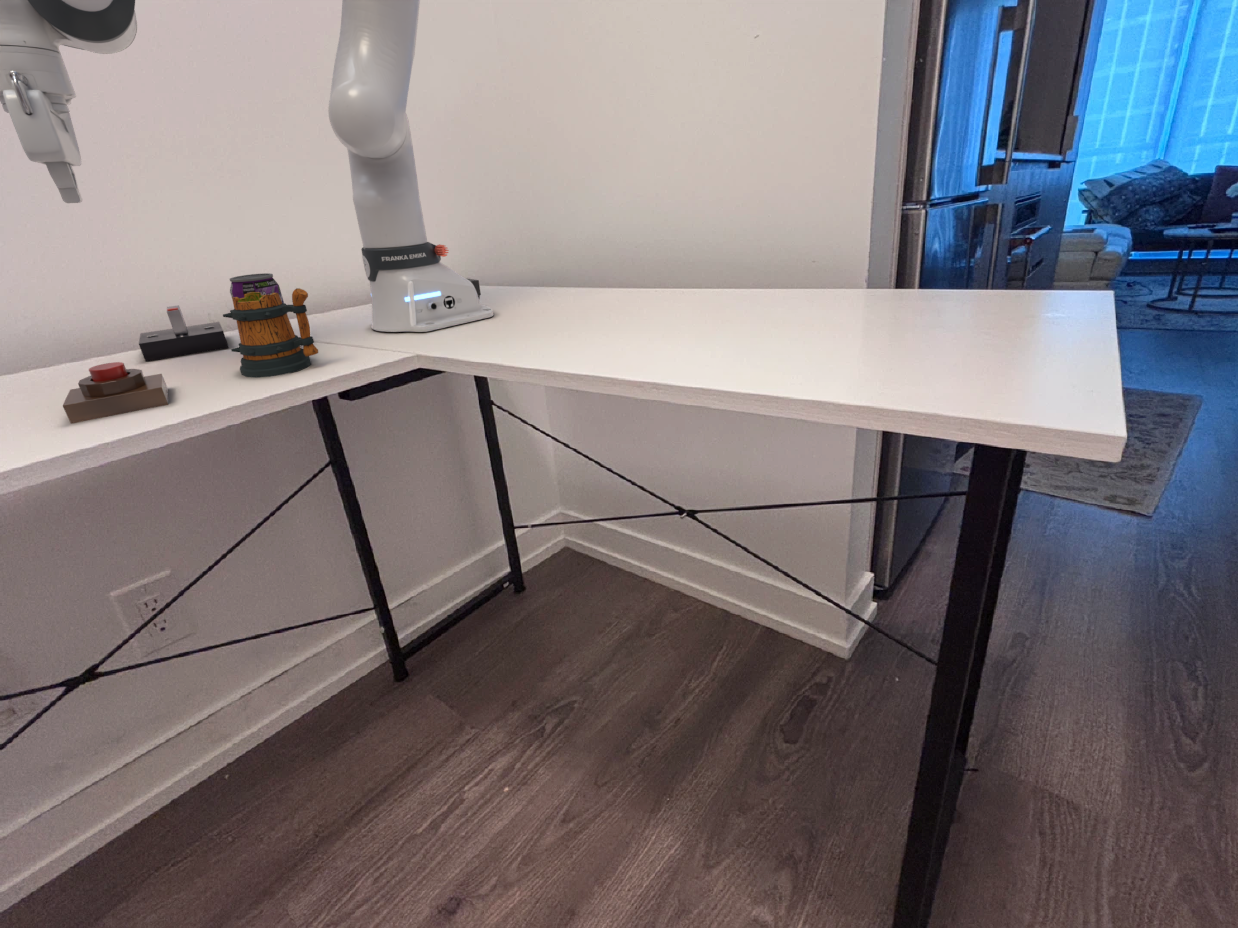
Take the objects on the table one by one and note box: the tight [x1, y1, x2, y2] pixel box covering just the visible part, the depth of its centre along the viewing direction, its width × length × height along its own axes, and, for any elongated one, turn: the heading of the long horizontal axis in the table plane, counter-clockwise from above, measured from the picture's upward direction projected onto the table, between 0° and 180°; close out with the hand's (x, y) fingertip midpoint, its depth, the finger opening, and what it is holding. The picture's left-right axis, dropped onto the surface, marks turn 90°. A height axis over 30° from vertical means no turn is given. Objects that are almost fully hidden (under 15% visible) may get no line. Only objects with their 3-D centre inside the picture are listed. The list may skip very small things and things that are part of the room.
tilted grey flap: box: [166, 305, 188, 335], centre depth 106 cm, size 6×2×4 cm, turn 33°
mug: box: [222, 287, 319, 379], centre depth 91 cm, size 13×10×12 cm
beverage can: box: [229, 272, 289, 317], centre depth 101 cm, size 7×7×12 cm
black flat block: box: [138, 321, 230, 363], centre depth 107 cm, size 12×10×3 cm
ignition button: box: [88, 361, 128, 382], centre depth 79 cm, size 4×4×2 cm
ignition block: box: [62, 368, 169, 424], centre depth 80 cm, size 10×8×4 cm
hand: (74, 203), depth 82 cm, fingers closed
